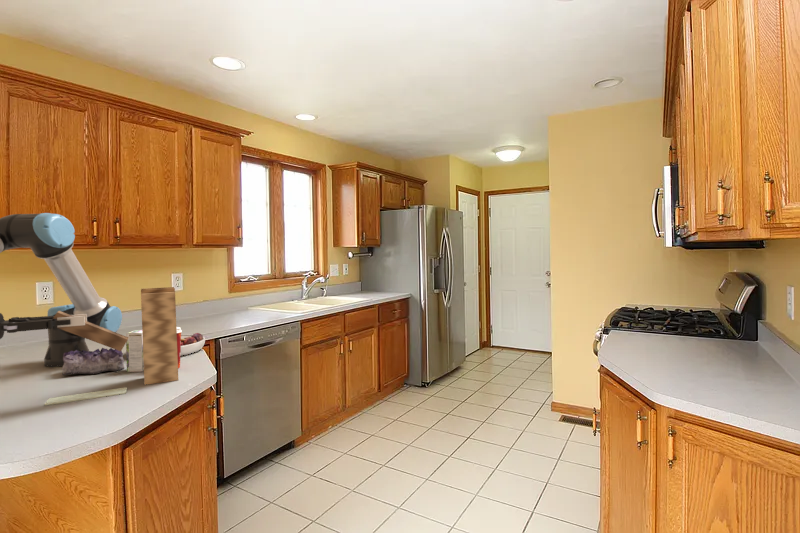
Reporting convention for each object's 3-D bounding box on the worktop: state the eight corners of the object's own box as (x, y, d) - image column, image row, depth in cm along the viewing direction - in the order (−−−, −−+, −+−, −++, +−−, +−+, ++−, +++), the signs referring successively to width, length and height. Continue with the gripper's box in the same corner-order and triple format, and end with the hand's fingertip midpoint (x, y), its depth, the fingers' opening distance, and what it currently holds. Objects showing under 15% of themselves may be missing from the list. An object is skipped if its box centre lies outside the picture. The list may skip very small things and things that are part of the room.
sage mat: (44, 405, 128) (44, 404, 128) (48, 399, 133) (48, 398, 133) (126, 393, 138) (125, 392, 138) (126, 388, 143) (126, 387, 143)
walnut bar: (48, 324, 129) (56, 312, 130) (51, 322, 132) (59, 310, 133) (120, 351, 138) (127, 339, 138) (121, 348, 141) (128, 337, 142)
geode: (129, 365, 173) (128, 340, 172) (120, 377, 162) (119, 351, 161) (67, 368, 167) (66, 342, 165) (54, 381, 156) (52, 353, 155)
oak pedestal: (144, 384, 147) (140, 290, 145) (144, 377, 155) (141, 288, 154) (178, 380, 152) (175, 288, 150) (176, 373, 160) (173, 286, 159)
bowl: (118, 364, 175) (117, 344, 174) (137, 348, 203) (136, 331, 203) (201, 357, 184) (200, 338, 184) (208, 343, 213) (207, 326, 212)
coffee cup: (188, 366, 169) (186, 327, 169) (170, 372, 162) (169, 331, 161) (171, 364, 172) (169, 326, 172) (153, 370, 164) (151, 330, 164)
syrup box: (134, 368, 168) (132, 330, 167) (150, 367, 168) (149, 329, 168) (126, 372, 162) (124, 332, 162) (143, 371, 163) (141, 332, 162)
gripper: (-7, 335, 131) (89, 327, 142) (-27, 346, 116) (82, 336, 127) (-9, 310, 131) (88, 304, 142) (-29, 317, 116) (81, 310, 127)
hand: (85, 319), depth 135 cm, fingers closed on walnut bar, 4 cm apart
